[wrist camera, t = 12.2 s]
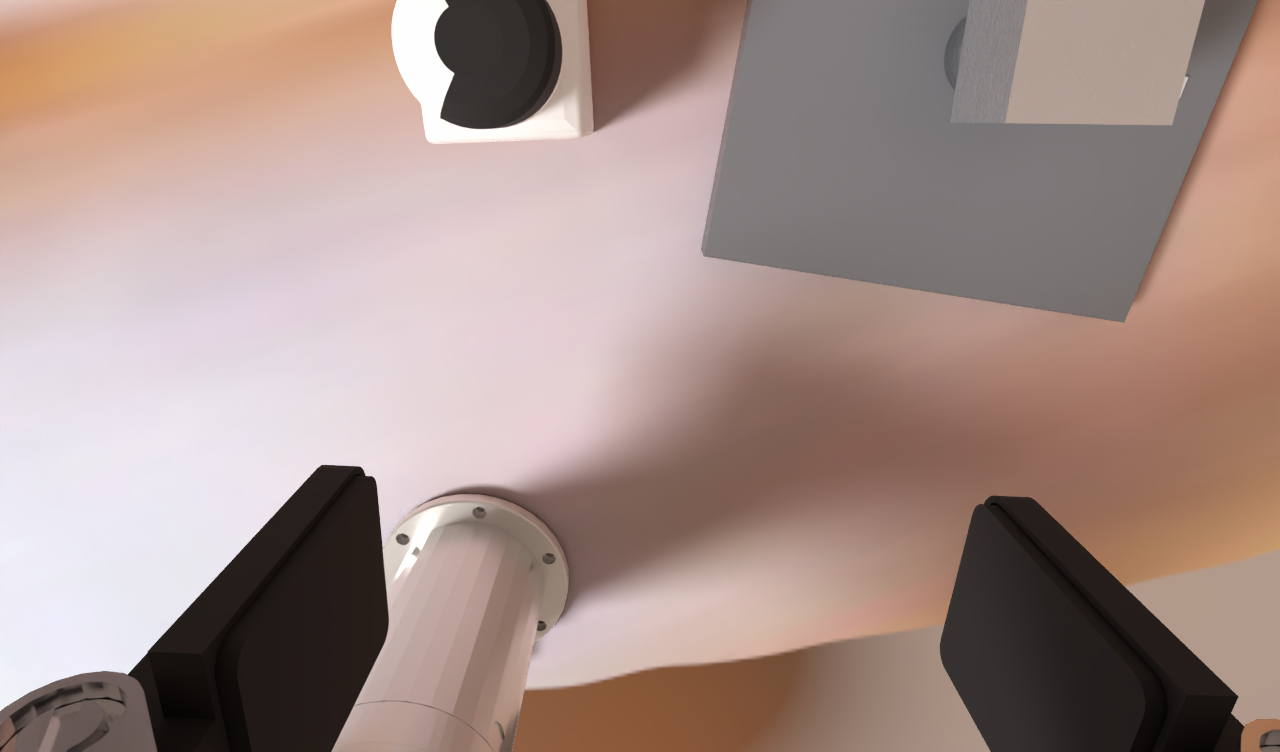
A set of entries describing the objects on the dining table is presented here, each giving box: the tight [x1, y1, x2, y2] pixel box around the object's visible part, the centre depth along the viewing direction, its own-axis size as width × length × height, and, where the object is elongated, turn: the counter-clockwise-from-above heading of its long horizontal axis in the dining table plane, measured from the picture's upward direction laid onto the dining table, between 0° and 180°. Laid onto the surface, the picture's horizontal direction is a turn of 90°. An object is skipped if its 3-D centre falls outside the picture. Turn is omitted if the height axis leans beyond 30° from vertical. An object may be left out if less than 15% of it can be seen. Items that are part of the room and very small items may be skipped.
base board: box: [701, 0, 1258, 322], centre depth 35 cm, size 24×24×2 cm
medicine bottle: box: [392, 0, 594, 144], centre depth 30 cm, size 7×7×12 cm
